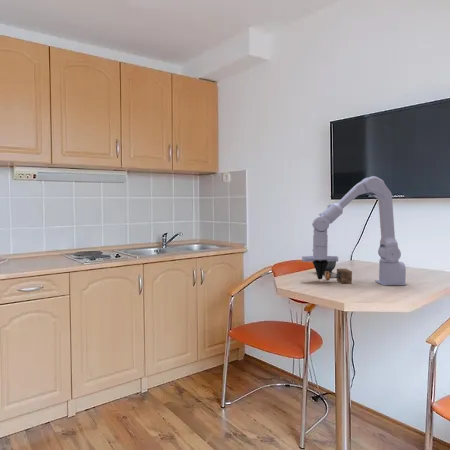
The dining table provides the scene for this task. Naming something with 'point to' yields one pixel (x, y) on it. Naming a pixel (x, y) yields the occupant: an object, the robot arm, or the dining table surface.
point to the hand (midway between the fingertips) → (319, 278)
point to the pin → (331, 275)
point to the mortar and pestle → (330, 266)
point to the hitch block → (345, 276)
